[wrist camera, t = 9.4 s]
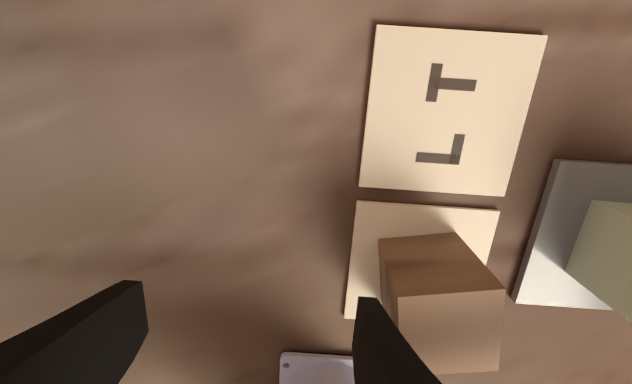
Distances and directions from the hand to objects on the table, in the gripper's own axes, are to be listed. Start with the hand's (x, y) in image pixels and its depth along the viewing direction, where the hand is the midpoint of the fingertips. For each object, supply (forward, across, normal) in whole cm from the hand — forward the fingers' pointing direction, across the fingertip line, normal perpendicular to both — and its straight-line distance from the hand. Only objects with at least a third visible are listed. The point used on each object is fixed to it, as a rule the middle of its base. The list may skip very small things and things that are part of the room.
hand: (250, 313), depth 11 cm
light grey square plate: (+10, -21, +1) cm, 23 cm away
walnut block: (+10, -9, +4) cm, 14 cm away
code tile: (+10, -9, -6) cm, 15 cm away
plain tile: (+10, -9, +4) cm, 14 cm away
